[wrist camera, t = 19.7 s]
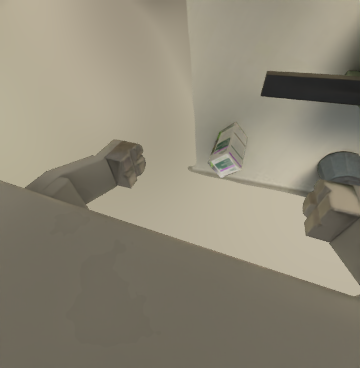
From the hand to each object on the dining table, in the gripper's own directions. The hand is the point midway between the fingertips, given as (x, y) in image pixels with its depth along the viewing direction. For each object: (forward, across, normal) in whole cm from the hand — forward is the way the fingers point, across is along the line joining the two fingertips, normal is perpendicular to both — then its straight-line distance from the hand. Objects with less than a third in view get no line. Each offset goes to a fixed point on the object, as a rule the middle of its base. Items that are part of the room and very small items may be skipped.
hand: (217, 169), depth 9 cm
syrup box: (+41, +2, +22) cm, 47 cm away
